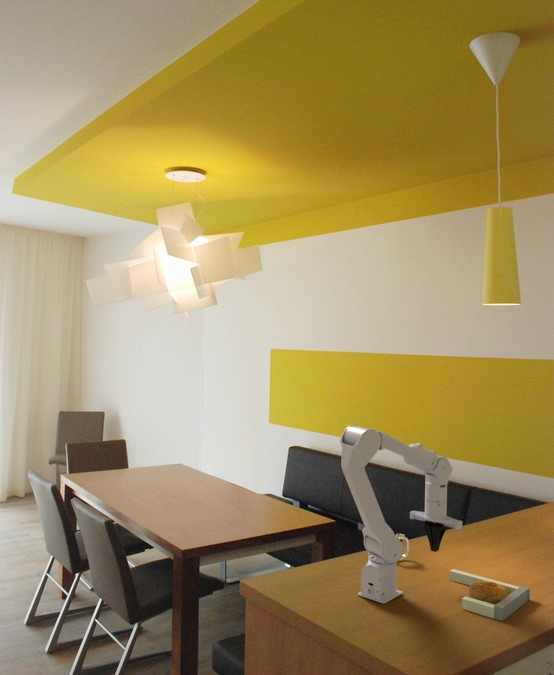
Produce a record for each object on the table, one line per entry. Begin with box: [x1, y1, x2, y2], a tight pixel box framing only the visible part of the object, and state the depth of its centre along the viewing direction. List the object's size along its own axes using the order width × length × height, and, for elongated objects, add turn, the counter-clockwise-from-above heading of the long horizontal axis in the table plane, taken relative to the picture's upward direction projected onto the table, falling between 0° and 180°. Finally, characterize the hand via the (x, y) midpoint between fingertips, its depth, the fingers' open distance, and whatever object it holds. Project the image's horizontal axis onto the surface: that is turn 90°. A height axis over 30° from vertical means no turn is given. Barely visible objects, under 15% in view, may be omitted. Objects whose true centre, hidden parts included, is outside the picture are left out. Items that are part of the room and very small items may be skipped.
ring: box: [395, 533, 411, 562], centre depth 185 cm, size 7×3×8 cm, turn 116°
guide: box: [448, 568, 531, 622], centre depth 158 cm, size 18×21×3 cm
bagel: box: [467, 581, 510, 605], centre depth 156 cm, size 10×11×5 cm
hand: (434, 550), depth 166 cm, fingers closed
